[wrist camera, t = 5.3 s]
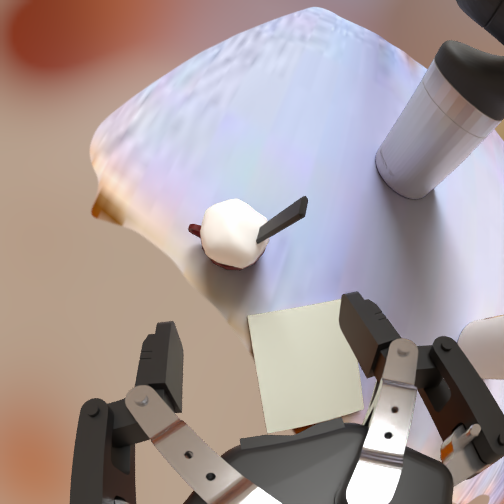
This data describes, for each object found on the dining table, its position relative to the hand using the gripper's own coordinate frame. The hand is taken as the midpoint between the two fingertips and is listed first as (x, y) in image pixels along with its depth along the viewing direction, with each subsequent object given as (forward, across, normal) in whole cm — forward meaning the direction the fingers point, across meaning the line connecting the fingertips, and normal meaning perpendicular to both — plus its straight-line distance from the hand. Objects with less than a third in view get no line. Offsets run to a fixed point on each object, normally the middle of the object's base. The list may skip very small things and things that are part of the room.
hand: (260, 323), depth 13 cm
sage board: (+7, -5, +14) cm, 16 cm away
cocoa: (+16, 0, +4) cm, 17 cm away
